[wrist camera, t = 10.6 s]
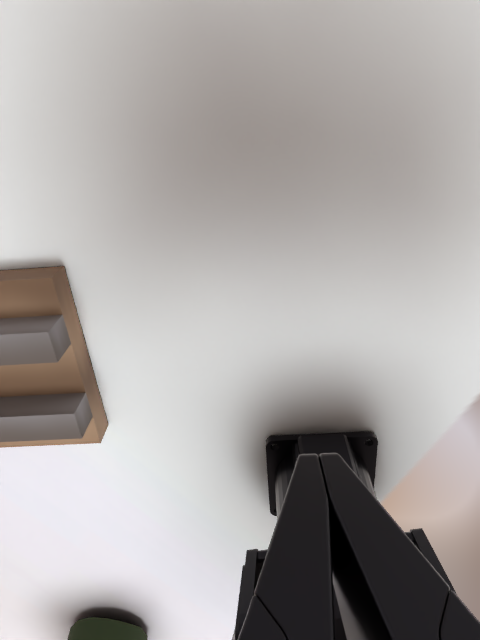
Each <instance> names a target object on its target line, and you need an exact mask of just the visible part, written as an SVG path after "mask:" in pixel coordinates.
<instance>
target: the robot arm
mask: <svg viewBox="0 0 480 640" xmlns="http://www.w3.org/2000/svg"><path fill="white" fill-rule="evenodd" d="M369 439H370V441H366V440H369ZM272 444H277V445H272ZM377 445H378V441H377V438H376V435H375V434H374V433H372V432H346V433H324V434H302V435H280V436H270V437H269V438H267V440H266V456H267V471H268V487H269V502H270V512H271V514H272V515H274V516H277V523H276V526H275V529H274V532H273V536H272V539H271V542H270V545H269V548H268V550H261V551H258V549H253V550H247V554H246V562H245V565H243V569H242V577H241V586H240V594H239V602H238V610H237V618H236V627H235V631H234V634H233V637H232V640H480V622H479V621H478V620H477V619H476V617H475V616H474V615H473V614H472V613H471V612H470V611H469V609H468V608H467V607H466V606H465V604H464V603H463V602H462V601H461V600H460V598H459V597H458V596H457V594H456V592H455V590H454V588H453V586H452V584H451V582H450V581H449V579H448V577H447V575H446V573H445V571H444V569H443V567H442V565H441V564H440V562H439V560H438V558H437V556H436V554H435V552H434V550H433V548H432V547H431V545H430V543H429V541H428V539H427V537H426V535H425V533H424V531H423V530H422V529H413V530H410V532H405V533H404V531H403V530H402V529H401V528H400V527H399V526H398V524H397V523H396V522H395V521H394V520H393V518H392V517H391V516H390V515H389V513H388V512H387V511H386V510H385V509H384V507H383V506H382V505H381V504H380V503H379V501H378V500H377V498H376V495H375V492H374V478H375V467H376V456H377Z"/></svg>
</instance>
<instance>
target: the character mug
mask: <svg viewBox="0 0 480 640" xmlns="http://www.w3.org/2000/svg"><path fill="white" fill-rule="evenodd" d="M68 640H147V635H146V634H145V632H144V631H143V629H142V628H141V627H139V626H136V625H132V624H129V623H126V622H122V621H120V620H113V619H109V618H97V617H90V618H85V619H81V620H78V621H77V622H76V623H75V624H74V625H73V626H72V627H71V628H70V632H69V636H68Z"/></svg>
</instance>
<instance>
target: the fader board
mask: <svg viewBox="0 0 480 640" xmlns="http://www.w3.org/2000/svg"><path fill="white" fill-rule="evenodd" d="M107 427H108V422H107V418H106V415H105V411H104V407H103V404H102V400H101V397H100V393H99V390H98V386H97V382H96V379H95V375H94V372H93V368H92V364H91V361H90V357H89V354H88V350H87V347H86V343H85V339H84V336H83V332H82V329H81V325H80V321H79V318H78V314H77V311H76V307H75V304H74V300H73V296H72V293H71V289H70V286H69V282H68V278H67V275H66V271H65V268H64V266H60V267H45V268H30V269H15V270H0V447H21V446H43V445H65V444H87V443H101V441H102V439H103V436H104V434H105V432H106V429H107Z"/></svg>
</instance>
